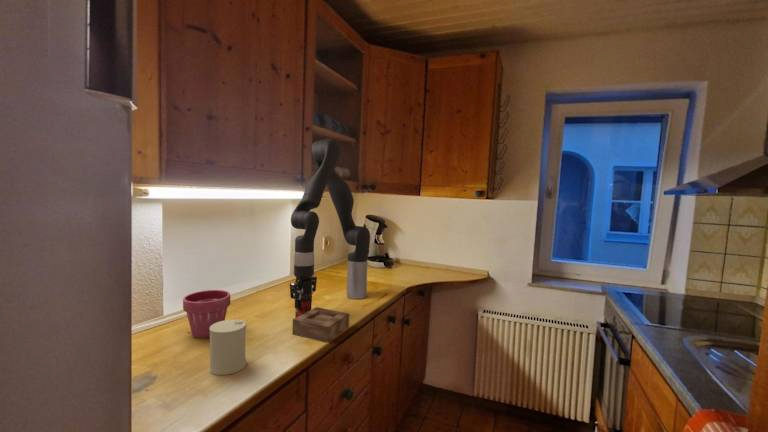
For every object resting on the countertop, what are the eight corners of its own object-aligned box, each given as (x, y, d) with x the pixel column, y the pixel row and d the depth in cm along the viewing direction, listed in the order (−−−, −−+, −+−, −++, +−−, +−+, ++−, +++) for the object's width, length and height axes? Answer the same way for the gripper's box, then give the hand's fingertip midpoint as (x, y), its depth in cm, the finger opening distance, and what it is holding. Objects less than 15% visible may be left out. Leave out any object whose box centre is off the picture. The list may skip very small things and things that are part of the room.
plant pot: (173, 335, 111) (172, 297, 111) (210, 321, 124) (210, 287, 123) (203, 345, 106) (203, 304, 105) (239, 329, 118) (239, 293, 118)
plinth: (316, 320, 128) (316, 307, 128) (348, 327, 123) (349, 313, 123) (292, 334, 116) (292, 319, 115) (327, 342, 110) (327, 326, 110)
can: (252, 366, 94) (252, 324, 93) (217, 379, 87) (217, 333, 86) (236, 355, 100) (237, 315, 99) (203, 366, 93) (203, 323, 92)
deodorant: (292, 318, 130) (292, 280, 129) (302, 314, 135) (303, 276, 134) (304, 321, 127) (304, 282, 126) (314, 317, 132) (315, 279, 131)
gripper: (307, 259, 137) (306, 299, 139) (283, 265, 124) (283, 310, 125) (323, 261, 134) (322, 302, 136) (300, 267, 121) (299, 313, 122)
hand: (303, 306), depth 130 cm, fingers open, 6 cm apart
